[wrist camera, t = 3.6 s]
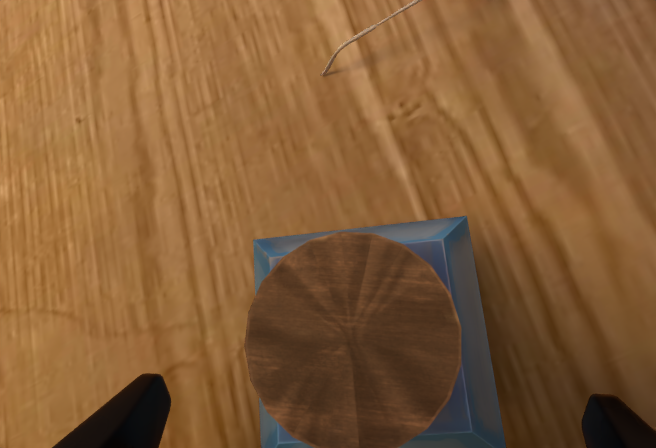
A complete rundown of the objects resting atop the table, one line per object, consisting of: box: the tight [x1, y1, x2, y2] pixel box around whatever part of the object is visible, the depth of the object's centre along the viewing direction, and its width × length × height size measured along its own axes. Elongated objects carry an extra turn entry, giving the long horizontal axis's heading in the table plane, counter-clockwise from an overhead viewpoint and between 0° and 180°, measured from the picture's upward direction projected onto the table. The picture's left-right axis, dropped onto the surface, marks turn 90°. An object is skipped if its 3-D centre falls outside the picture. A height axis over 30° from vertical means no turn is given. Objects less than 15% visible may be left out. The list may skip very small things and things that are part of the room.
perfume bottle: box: [245, 216, 506, 448], centre depth 12 cm, size 6×6×12 cm
